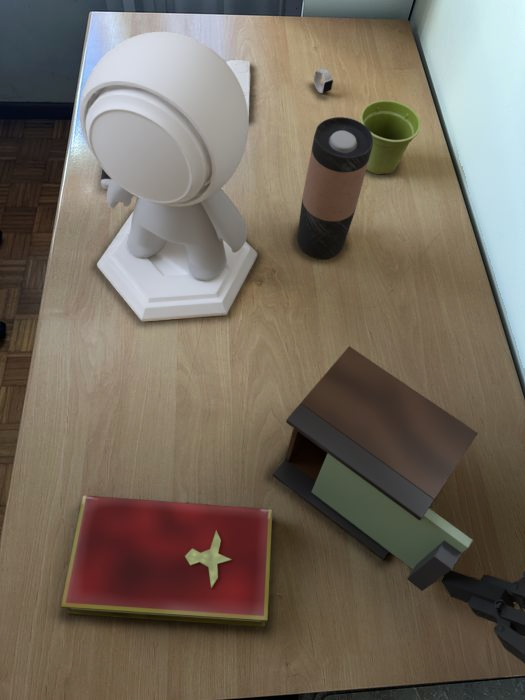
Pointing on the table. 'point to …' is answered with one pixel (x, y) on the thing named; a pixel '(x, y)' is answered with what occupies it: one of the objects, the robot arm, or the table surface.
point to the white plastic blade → (242, 76)
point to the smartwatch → (327, 80)
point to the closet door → (392, 524)
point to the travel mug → (333, 185)
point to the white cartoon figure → (170, 173)
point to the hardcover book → (170, 561)
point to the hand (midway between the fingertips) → (449, 583)
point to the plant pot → (389, 133)
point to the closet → (372, 440)
